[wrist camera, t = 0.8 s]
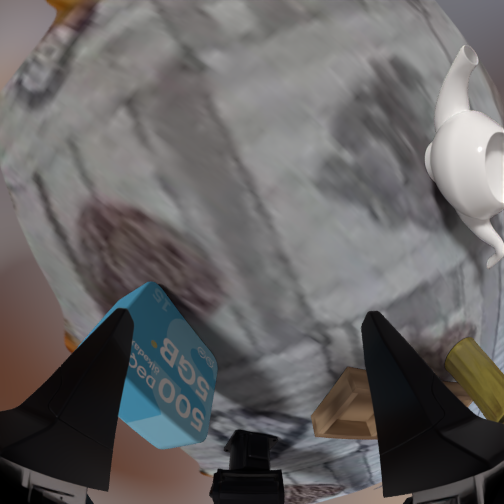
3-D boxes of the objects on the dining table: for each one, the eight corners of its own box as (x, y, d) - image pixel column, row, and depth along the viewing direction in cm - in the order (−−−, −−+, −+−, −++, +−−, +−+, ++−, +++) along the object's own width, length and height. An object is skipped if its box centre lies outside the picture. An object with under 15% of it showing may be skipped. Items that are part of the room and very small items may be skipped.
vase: (451, 341, 29) (506, 406, 15) (478, 332, 29) (532, 387, 15) (439, 374, 31) (483, 439, 17) (466, 364, 30) (511, 420, 17)
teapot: (423, 264, 25) (475, 301, 17) (376, 74, 20) (426, 41, 11) (480, 237, 24) (532, 262, 16) (443, 69, 19) (497, 49, 10)
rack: (434, 422, 35) (441, 435, 31) (310, 416, 32) (314, 437, 28) (467, 383, 32) (477, 396, 28) (347, 366, 29) (356, 387, 26)
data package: (220, 361, 29) (206, 449, 18) (188, 374, 30) (166, 456, 18) (154, 275, 26) (96, 345, 15) (123, 294, 27) (64, 362, 15)
